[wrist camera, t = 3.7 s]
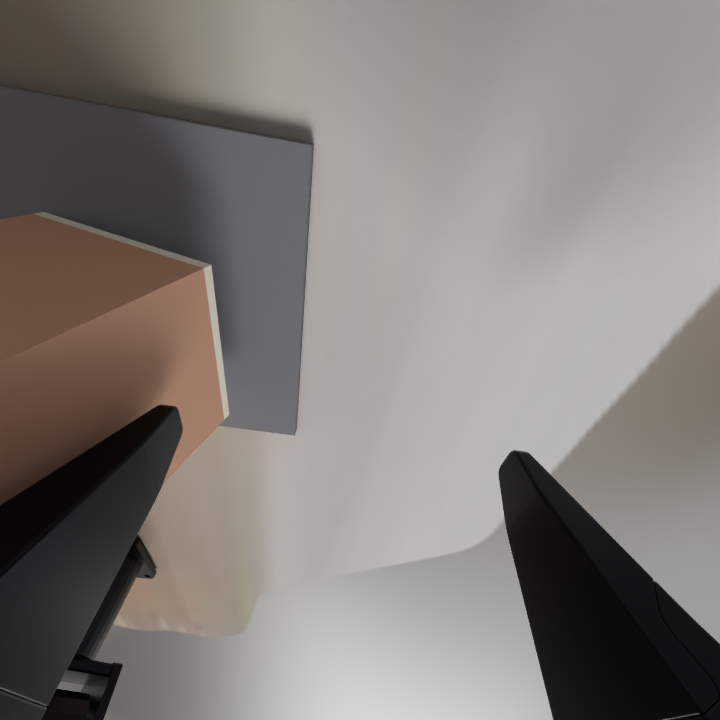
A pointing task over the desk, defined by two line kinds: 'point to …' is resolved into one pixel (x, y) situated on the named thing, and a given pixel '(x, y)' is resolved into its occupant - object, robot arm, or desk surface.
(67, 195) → the mat
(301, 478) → the desk surface
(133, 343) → the cube
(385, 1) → the desk surface
